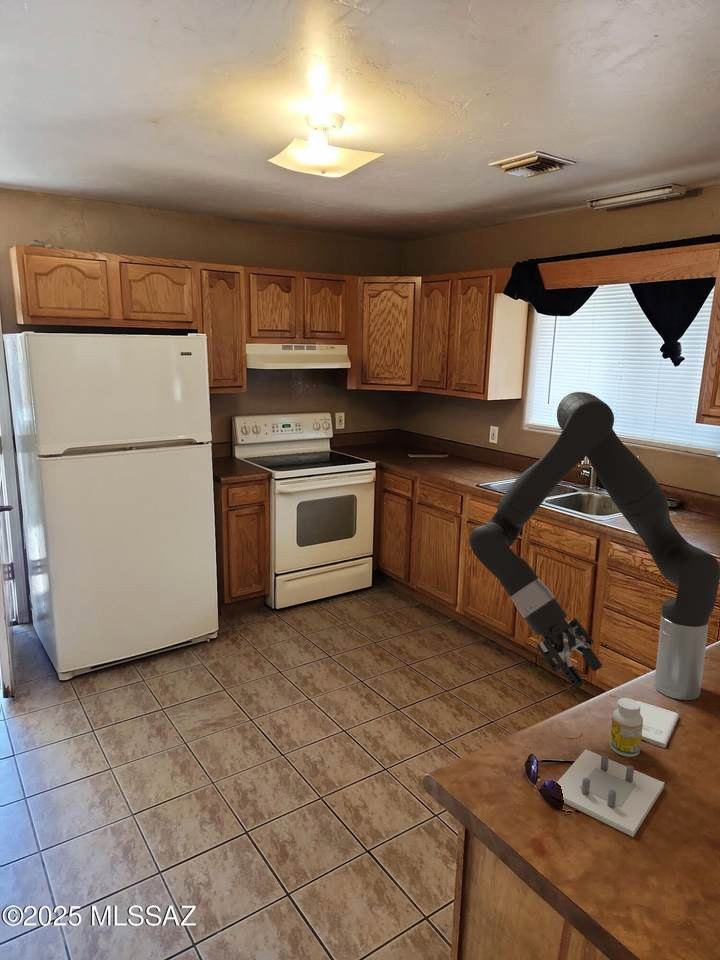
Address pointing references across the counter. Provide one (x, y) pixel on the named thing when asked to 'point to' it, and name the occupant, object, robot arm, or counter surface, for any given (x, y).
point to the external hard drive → (657, 724)
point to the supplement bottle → (626, 728)
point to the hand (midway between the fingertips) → (589, 677)
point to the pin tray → (609, 791)
